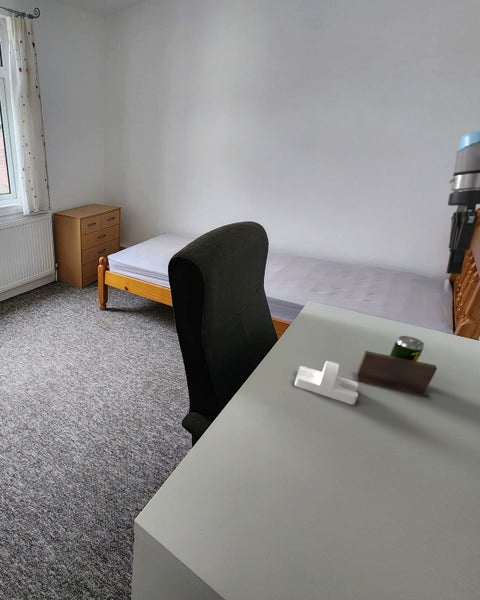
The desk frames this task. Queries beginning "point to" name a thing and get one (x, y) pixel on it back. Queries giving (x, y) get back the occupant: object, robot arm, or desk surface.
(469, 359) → the desk surface
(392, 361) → the wall board
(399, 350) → the beer can
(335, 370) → the slotted bracket
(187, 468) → the desk surface
